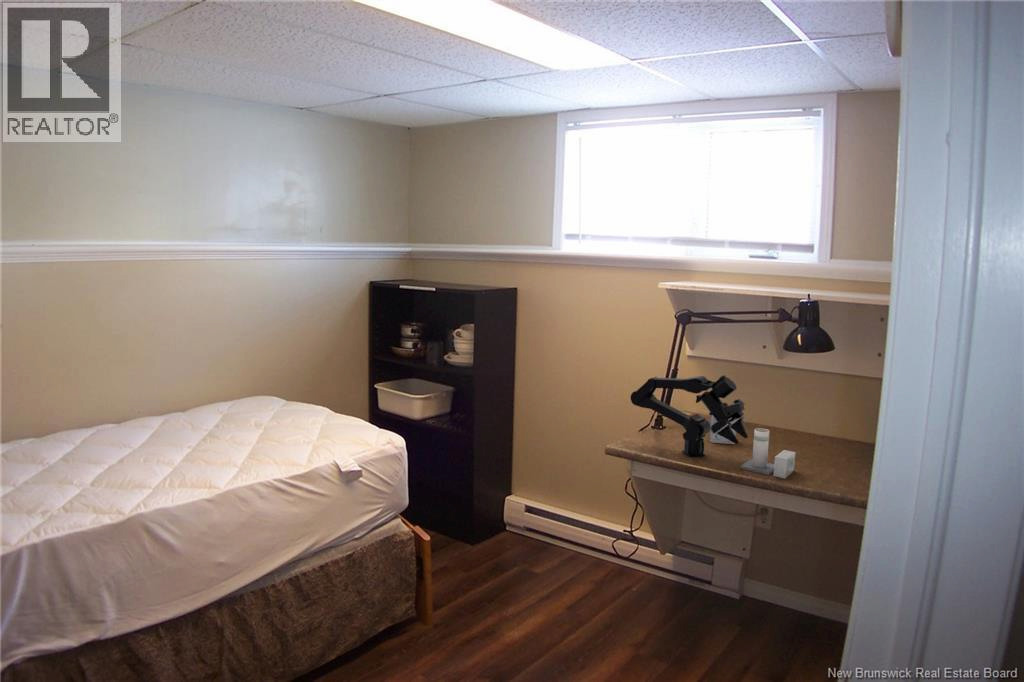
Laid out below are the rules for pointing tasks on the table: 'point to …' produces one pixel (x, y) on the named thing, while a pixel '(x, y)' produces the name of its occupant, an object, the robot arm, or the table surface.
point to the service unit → (784, 464)
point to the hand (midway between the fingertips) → (742, 440)
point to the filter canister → (760, 448)
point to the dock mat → (749, 467)
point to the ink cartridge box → (717, 438)
